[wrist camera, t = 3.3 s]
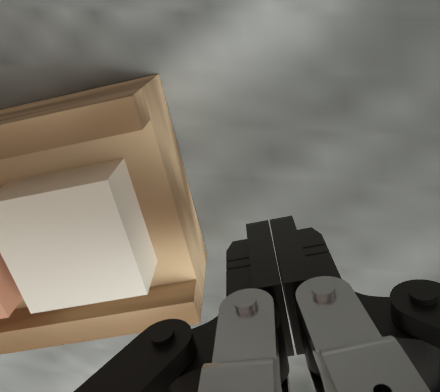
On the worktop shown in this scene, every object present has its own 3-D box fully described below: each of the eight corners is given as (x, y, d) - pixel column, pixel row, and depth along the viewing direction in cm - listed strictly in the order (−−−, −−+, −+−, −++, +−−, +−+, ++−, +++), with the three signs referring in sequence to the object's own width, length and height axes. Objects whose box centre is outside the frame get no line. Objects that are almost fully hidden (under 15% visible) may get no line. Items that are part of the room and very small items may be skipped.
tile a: (9, 181, 17) (-24, 205, 15) (123, 158, 16) (107, 179, 14) (53, 279, 19) (30, 313, 17) (157, 261, 18) (147, 294, 16)
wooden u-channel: (-128, 138, 21) (-246, 179, 15) (158, 74, 19) (132, 96, 14) (-37, 296, 24) (-107, 370, 19) (206, 254, 23) (200, 323, 18)
